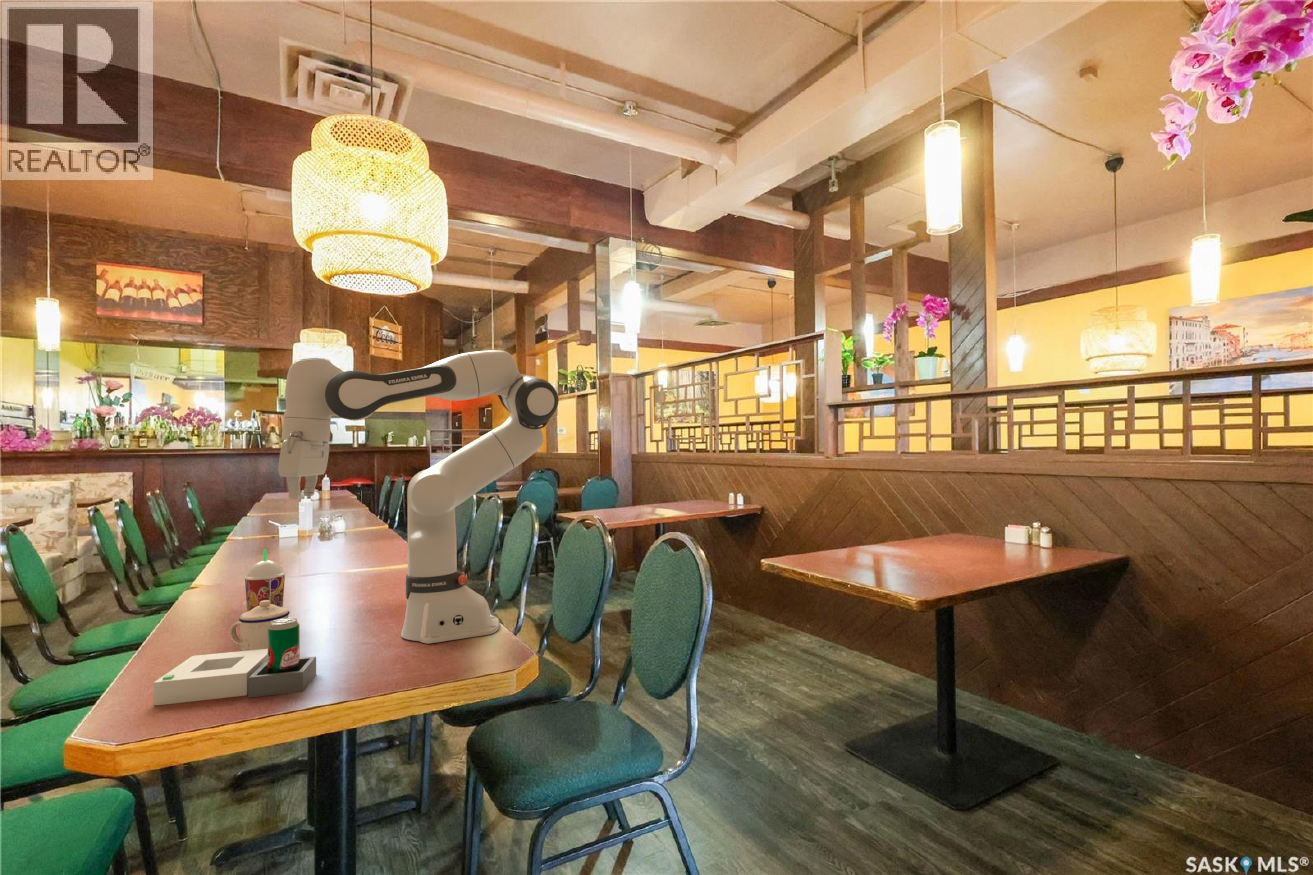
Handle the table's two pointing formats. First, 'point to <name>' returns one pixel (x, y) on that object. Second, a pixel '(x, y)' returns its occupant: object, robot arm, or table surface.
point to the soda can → (283, 646)
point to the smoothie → (264, 583)
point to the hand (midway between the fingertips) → (301, 497)
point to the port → (209, 677)
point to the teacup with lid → (257, 625)
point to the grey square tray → (282, 679)
